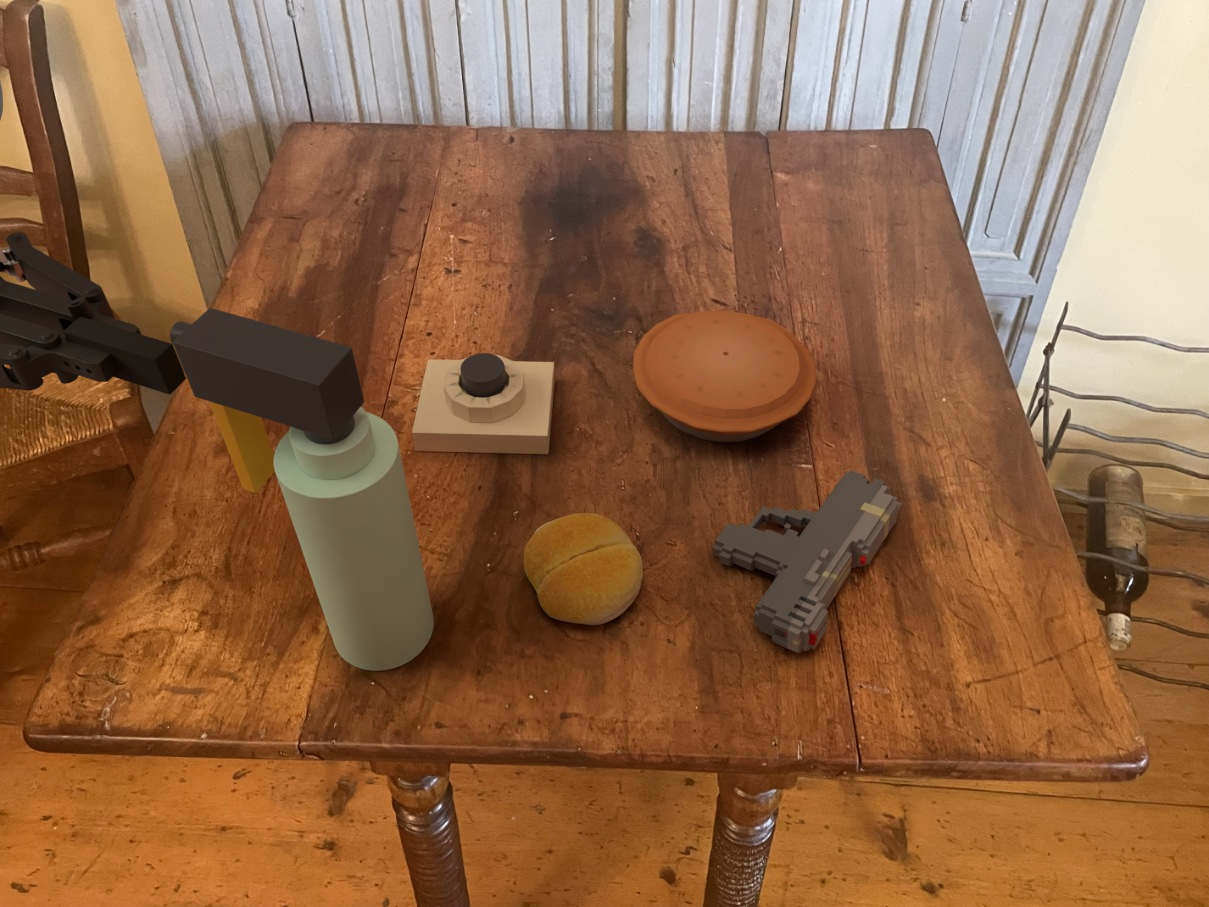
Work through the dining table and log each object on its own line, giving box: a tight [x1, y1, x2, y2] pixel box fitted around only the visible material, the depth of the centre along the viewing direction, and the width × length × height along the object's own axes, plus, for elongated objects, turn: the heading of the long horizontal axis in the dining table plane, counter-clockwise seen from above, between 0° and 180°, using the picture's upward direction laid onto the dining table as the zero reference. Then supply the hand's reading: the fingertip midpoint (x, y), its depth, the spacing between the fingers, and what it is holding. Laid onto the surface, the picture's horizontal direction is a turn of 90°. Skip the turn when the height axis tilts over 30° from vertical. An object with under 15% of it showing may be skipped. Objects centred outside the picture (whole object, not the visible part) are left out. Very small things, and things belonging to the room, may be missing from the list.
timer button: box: [460, 352, 506, 398], centre depth 81 cm, size 4×4×2 cm
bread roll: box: [523, 512, 644, 626], centre depth 71 cm, size 8×9×4 cm
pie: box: [632, 309, 817, 443], centre depth 84 cm, size 15×16×5 cm
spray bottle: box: [169, 307, 435, 672], centre depth 61 cm, size 12×7×25 cm, turn 69°
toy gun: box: [712, 469, 903, 654], centre depth 73 cm, size 4×16×10 cm
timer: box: [411, 354, 556, 455], centre depth 83 cm, size 11×9×4 cm
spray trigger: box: [208, 401, 275, 494], centre depth 59 cm, size 1×2×8 cm, turn 159°
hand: (170, 369), depth 57 cm, fingers closed
